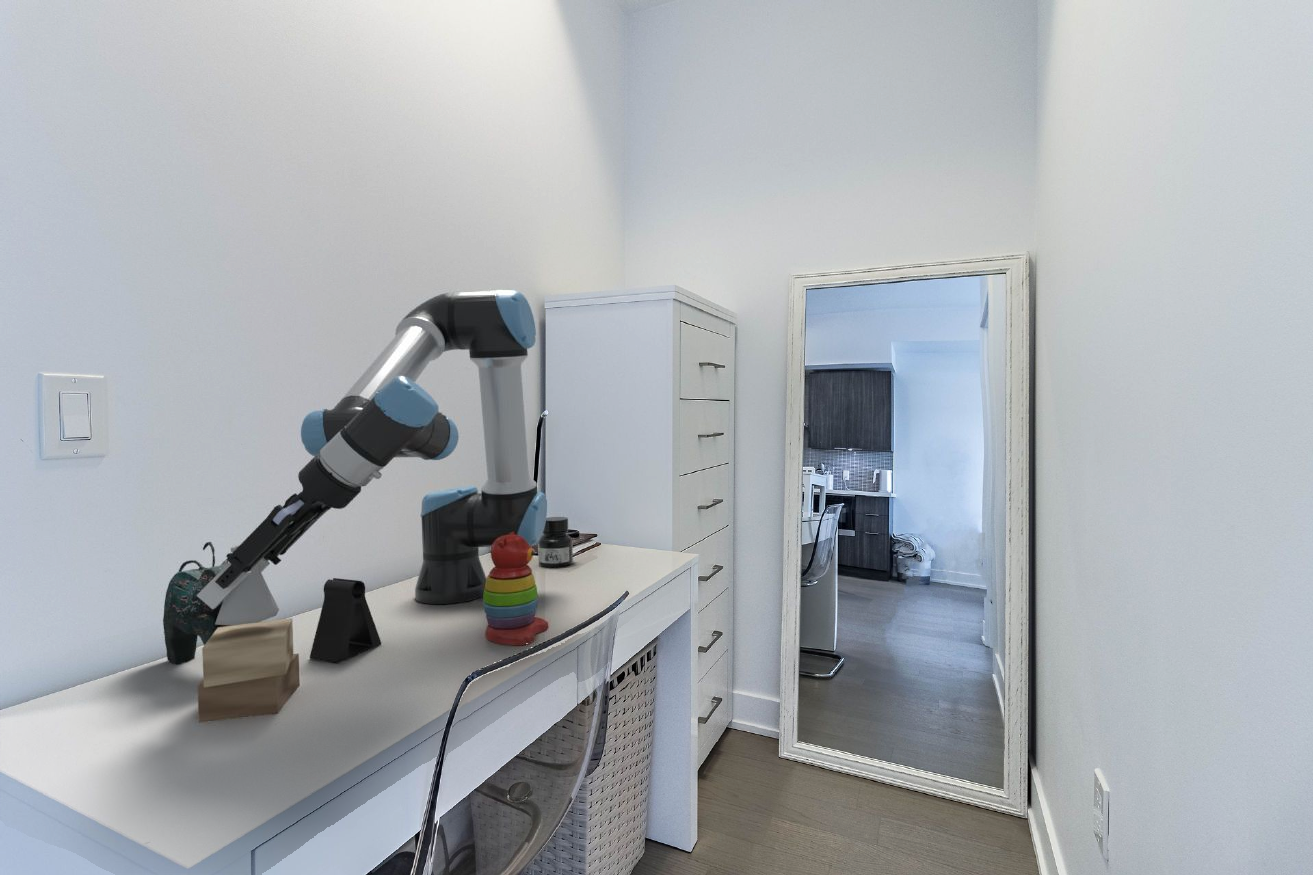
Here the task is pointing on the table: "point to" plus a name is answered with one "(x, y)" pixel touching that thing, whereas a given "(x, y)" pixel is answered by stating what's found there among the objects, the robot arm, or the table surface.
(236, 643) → the block upper
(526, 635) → the stacking bear
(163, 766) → the table surface
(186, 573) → the ceramic cat
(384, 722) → the table surface
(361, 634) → the phone stand
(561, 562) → the ink bottle
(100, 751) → the table surface
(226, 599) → the flask
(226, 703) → the block lower
